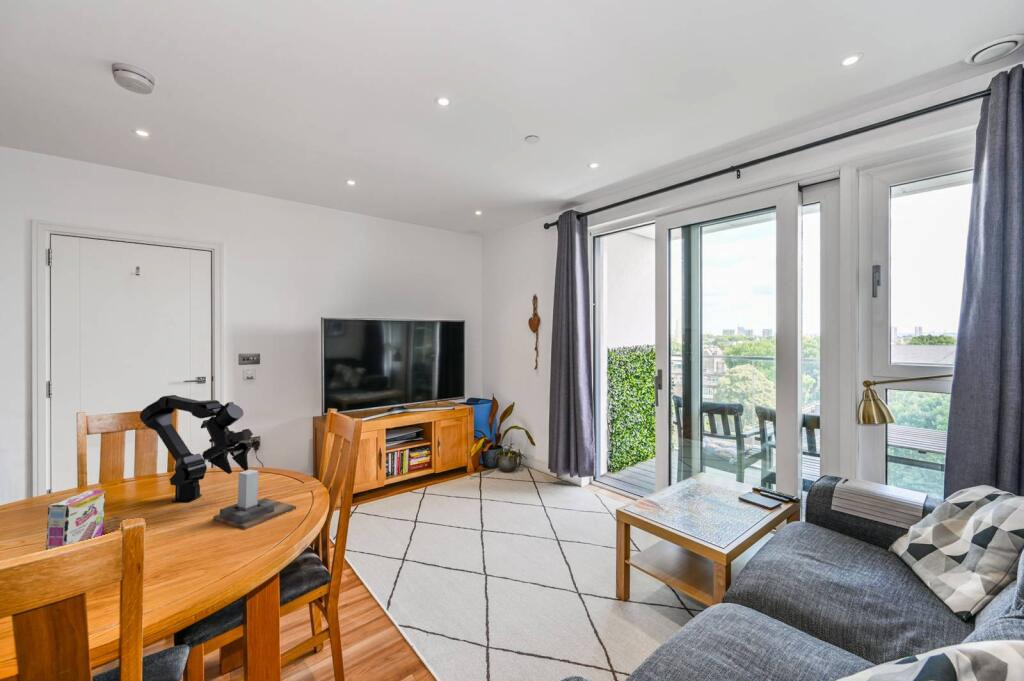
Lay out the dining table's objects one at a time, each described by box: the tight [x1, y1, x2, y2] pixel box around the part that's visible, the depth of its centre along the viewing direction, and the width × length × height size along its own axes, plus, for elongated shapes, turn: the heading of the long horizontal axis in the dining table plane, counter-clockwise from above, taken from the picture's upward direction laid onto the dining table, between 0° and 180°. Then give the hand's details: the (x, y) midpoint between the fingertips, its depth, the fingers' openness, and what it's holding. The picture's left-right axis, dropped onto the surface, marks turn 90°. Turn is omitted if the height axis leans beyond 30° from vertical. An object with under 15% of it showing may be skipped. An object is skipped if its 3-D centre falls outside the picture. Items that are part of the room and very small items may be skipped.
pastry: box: [103, 515, 128, 535], centre depth 127 cm, size 9×7×4 cm
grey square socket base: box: [212, 497, 297, 530], centre depth 143 cm, size 16×18×4 cm
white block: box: [237, 469, 259, 512], centre depth 140 cm, size 4×4×14 cm
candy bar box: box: [45, 490, 106, 551], centre depth 112 cm, size 11×5×16 cm, turn 5°
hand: (238, 471), depth 148 cm, fingers open, 9 cm apart
